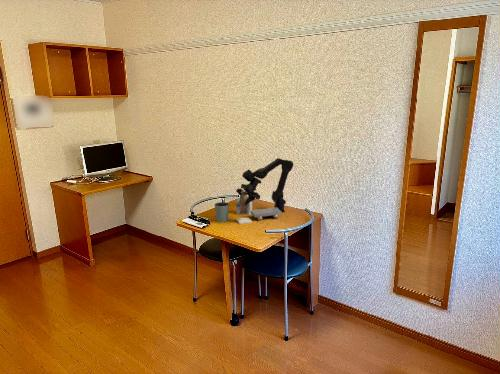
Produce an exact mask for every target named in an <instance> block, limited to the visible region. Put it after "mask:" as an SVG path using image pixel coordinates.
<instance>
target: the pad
mask: <svg viewBox="0 0 500 374" xmlns="http://www.w3.org/2000/svg"><path fill="white" fill-rule="evenodd" d="M235 219H236V221H237V223H238V224H239V225H244V224H251V223H253V221H252V219H251V218H250V217H247V216H246V217H241V218H235Z"/></svg>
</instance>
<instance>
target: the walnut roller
mask: <svg viewBox="0 0 500 374" xmlns="http://www.w3.org/2000/svg"><path fill="white" fill-rule="evenodd" d="M239 198H240V212H241V214H240V215H246V214H247V213H248V205H245V203H246V201H247V198H248V195H247V194H241V195H239Z"/></svg>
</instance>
